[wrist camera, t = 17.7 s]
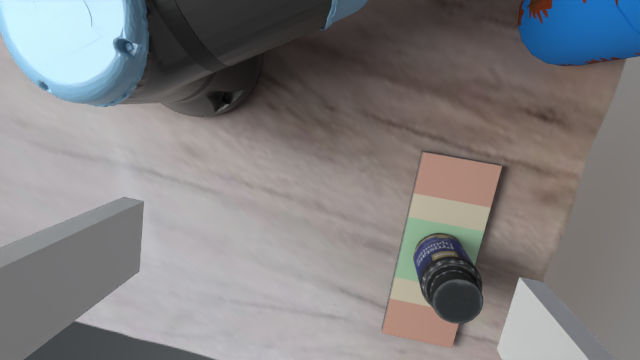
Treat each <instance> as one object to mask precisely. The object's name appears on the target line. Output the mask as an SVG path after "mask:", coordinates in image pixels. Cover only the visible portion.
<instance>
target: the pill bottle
mask: <svg viewBox="0 0 640 360" xmlns="http://www.w3.org/2000/svg"><path fill="white" fill-rule="evenodd" d="M413 260H414V264H415V268H416V272H417V276H418V280H419V284H420V288H421V292H422V295H423V297H424V299H425V300H426V301H427V303H428V304H429V305H430V306H432V307H433V308H434V310H435V312H436V313H437V315H438V316H439V317H440V318H442V319H443V320H445V321H447V322H450V323H456V324H459V323H460V324H461V323H466V322H469V321H471V320H473V319H474V318H475V317H476V316H477V315H478V314H479V313H480V311H481V309H482V306H483V296H482V293H481V291H482V281H481V277H480V275H479V273H478V271H477V269H476V268H475V266H474V264H473V263H472V261H471V259H470V258H469V256H468V254H467V253H466V251H465V249H464V248H463V246H462V244H461V243H460V242H459V241H458V240H457V239H456V238H454V237H453V236H451V235H448V234H443V233H434V234H430V235H428V236H426V237H424V238H423V239H421V240H420V241H419V242H418V244H417V246H416V248H415V252H414V255H413Z"/></svg>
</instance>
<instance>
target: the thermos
mask: <svg viewBox="0 0 640 360" xmlns="http://www.w3.org/2000/svg"><path fill="white" fill-rule="evenodd" d="M518 27H519V31H520V34H521V38H522V41H523V43H524V44H525V46H526V47H527V48H528V50H529V51H530V52H531V54H532V55H534V56H536V57H537V58H539V59H541V60H542V61H544V62H546V63H550V64H556V65H561V66H569V65H584V64H591V63H598V62H604V61H611V60H618V59H624V58H630V57H636V56H640V0H523V1H522V3H521V5H520V10H519V20H518Z"/></svg>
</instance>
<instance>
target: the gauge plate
mask: <svg viewBox="0 0 640 360" xmlns="http://www.w3.org/2000/svg"><path fill="white" fill-rule="evenodd" d="M501 169H502V166H501V165H499V164H493V163H488V162H482V161H477V160H471V159H465V158H460V157H454V156H449V155H443V154H437V153H432V152H426V151H422V152H421V156H420V161H419V165H418V170H417V174H416V178H415V183H414V187H413V192H412V196H411V201H410V205H409V209H408V214H407V218H406V223H405V227H404V231H403V236H402V240H401V245H400V249H399V254H398V258H397V262H396V267H395V271H394V276H393V280H392V284H391V289H390V293H389V298H388V302H387V307H386V311H385V315H384V320H383V324H382V333H385V334H390V335H394V336H399V337H404V338H408V339H413V340H417V341H422V342H426V343H431V344H436V345H440V346H445V347H449V348H452V346H453V342H454V339H455V335H456V332H457V328H458V324H456V323H450V322H447V321H445V320H443V319H442V318H440V317H439V316H438V315H437V313H436V312H435V310H434V308H433V307H432V306H430V305H429V304H428V303H427V301H426V300H425V299H424V297H423V295H422V292H421V288H420V284H419V280H418V276H417V272H416V268H415V264H414V260H413V255H414V252H415V248H416V246H417V244H418V242H419V241H420V240H421V239H423V238H424V237H426V236H428V235H430V234H434V233H443V234H448V235H451V236H453V237H454V238H456V239H457V240H458V241H459V242H460V243H461V244H462V246H463V248H464V249H465V251H466V253H467V254H468V256H469V258H470V259H471V261H472V263H473V264H474V266H475V263H476V259H477V256H478V252H479V248H480V245H481V241H482V238H483V234H484V230H485V227H486V223H487V219H488V216H489V212H490V209H491V205H492V201H493V198H494V194H495V190H496V187H497V183H498V180H499V176H500V172H501Z"/></svg>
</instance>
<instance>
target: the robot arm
mask: <svg viewBox="0 0 640 360" xmlns="http://www.w3.org/2000/svg"><path fill="white" fill-rule="evenodd" d="M367 1H368V0H0V32H1V35H2V37H3V40H4V42H5V44H6V46H7V48H8V50H9V52H10V54H11V56H12V57H13V59H14V60H15V62H16V63H17V65H18V66H19V67H20V69H21V70H22V71H23V72H24V73H25V75H26V76H27V77H28V78H29V79H30V80H31V81H33V82H34V83H35V84H36V85H37V86H39V87H40V88H41V89H43V90H45V91H47V92H48V93H50V94H53V95H55V96H56V97H57V98H60V99H62V100H65V101H69V102H73V103H81V104H89V105H94V106H100V107H107V106H114V105H117V104H142V103H161V104H163V105H164V106H166V107H167V108H169V109H171V110H173V111H175V112H178V113H181V114H184V115H189V116H196V117H204V116H213V115H219V114H222V113H225V112H228V111H230V110H232V109H234V108H235V107H237V106H238V105H239V104H241V103H242V102H243V101H244V100H245V99H246V98H247V97H248V96H249V94H250V93H251V92H252V90H253V89H254V87H255V85H256V83H257V81H258V78H259V76H260V73H261V68H262V63H263V52H266V51H268V50H271V49H273V48H275V47H278V46H280V45H282V44H285V43H287V42H290V41H292V40H294V39H297V38H299V37H301V36H304V35H306V34H309V33H311V32H313V31H316V30H318V29H319V30H320V31H323V30H326V29H327V28H328V27H329V26H331V25H332V23H334V22H336V21H338V20H340V19H342V18H344V17H347V16H349V15H351V14H353V13H355V12H357V11H359V10H360V9H361V8H363V7H364V6H365V4H366V3H367ZM143 207H144V201H141V200H136V199H131V198H126V197H123V198H120V199H118V200H115V201H113V202H110V203H108V204H105V205H103V206H101V207H98V208H96V209H93V210H91V211H88V212H86V213H84V214H81V215H79V216H76V217H74V218H71V219H69V220H66V221H64V222H62V223H59V224H57V225H54V226H52V227H49V228H47V229H44V230H42V231H40V232H37V233H35V234H32V235H30V236H27V237H25V238H23V239H20V240H18V241H15V242H13V243H10V244H8V245H5V246H3V247H1V248H0V360H24V359H25V358H26V357H27V356H29V355H30V354H31V353H33V352H34V351H35V350H37V349H38V348H39V347H40V346H42V345H43V344H44V343H46V342H47V341H48V340H50V339H51V338H52V337H54V336H55V335H56V334H58V333H59V332H60V331H62V330H63V329H64V328H65V327H67V326H68V325H69V324H71V323H72V322H73V321H75V320H76V319H77V318H79V317H80V316H81V315H83V314H84V313H85V312H86V311H88V310H89V309H90V308H92V307H93V306H94V305H96V304H97V303H98V302H100V301H101V300H102V299H104V298H105V297H106V296H107V295H109V294H110V293H111V292H113V291H114V290H115V289H117V288H118V287H119V286H121V285H122V284H123V283H125V282H126V281H127V280H128V279H130V278H131V277H132V276H134V275H135V274H136V273H138V272H139V268H140V253H141V238H142V222H143ZM497 350H498V352H499V354H500V356H501V358H502V360H617V359H616V358H615V357H614V356H613V355H612V354H611V353H610V352H609V351H608V350H607V349H606V348H605V346H603V344H602V343H601V342H600V341H599V340H598V339H597V338H596V337H595V336H594V335H593V334H592V333H591V332H590V331H589V330H588V328H587V327H586V326H585V325H584V324H583V323H582V322H581V321H580V320H579V319H578V318H577V317H576V316H575V315H574V314H573V313H572V312H571V311H570V310H569V308H567V306H566V305H565V304H564V303H563V302H562V301H561V300H560V299H559V298H558V297H557V296H556V295H555V294H554V293H553V292H552V291H551V290H550V288H549V287H548V286H547V285H546V284H545V283H544V282H541V281H537V280H532V279H527V278H522V277H519V280H518V283H517V287H516V290H515V293H514V296H513V300H512V303H511V306H510V309H509V312H508V316H507V319H506V322H505V325H504V329H503V332H502V335H501V338H500V342H499V345H498V348H497Z"/></svg>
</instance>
